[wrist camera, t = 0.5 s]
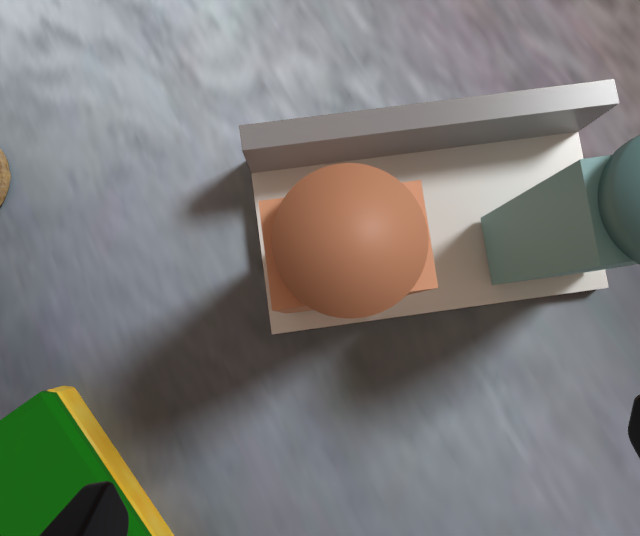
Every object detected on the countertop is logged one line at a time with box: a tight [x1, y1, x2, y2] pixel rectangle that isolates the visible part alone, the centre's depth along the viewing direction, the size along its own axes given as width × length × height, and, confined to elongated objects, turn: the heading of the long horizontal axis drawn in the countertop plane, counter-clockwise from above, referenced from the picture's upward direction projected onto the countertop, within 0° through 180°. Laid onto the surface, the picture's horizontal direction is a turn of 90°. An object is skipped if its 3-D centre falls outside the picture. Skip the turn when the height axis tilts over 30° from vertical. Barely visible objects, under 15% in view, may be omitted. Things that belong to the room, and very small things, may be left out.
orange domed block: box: [258, 163, 438, 318], centre depth 17 cm, size 4×4×9 cm
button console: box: [239, 79, 619, 334], centre depth 21 cm, size 8×15×4 cm, turn 98°
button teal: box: [480, 135, 640, 285], centre depth 17 cm, size 4×4×9 cm
